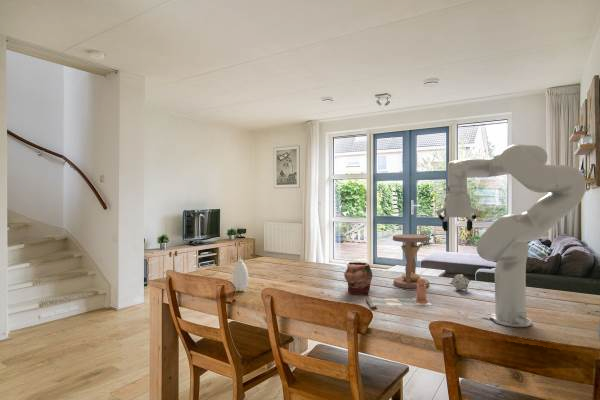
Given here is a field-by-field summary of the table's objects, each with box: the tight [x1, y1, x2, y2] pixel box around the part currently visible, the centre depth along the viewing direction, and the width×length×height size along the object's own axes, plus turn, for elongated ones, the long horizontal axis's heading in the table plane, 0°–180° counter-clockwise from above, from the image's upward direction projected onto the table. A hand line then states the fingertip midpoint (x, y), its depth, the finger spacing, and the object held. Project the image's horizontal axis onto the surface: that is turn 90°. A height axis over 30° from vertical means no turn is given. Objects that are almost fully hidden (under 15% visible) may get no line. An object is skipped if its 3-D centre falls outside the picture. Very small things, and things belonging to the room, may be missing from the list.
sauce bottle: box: [231, 256, 250, 291], centre depth 176 cm, size 8×8×18 cm
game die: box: [449, 272, 472, 293], centre depth 170 cm, size 9×8×10 cm
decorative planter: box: [343, 261, 373, 296], centre depth 171 cm, size 20×12×14 cm, turn 148°
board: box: [366, 297, 433, 310], centre depth 150 cm, size 12×26×1 cm, turn 88°
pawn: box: [415, 277, 429, 303], centre depth 149 cm, size 5×5×10 cm
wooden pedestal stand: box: [392, 233, 430, 290], centre depth 183 cm, size 18×18×25 cm
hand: (457, 230), depth 151 cm, fingers open, 9 cm apart
